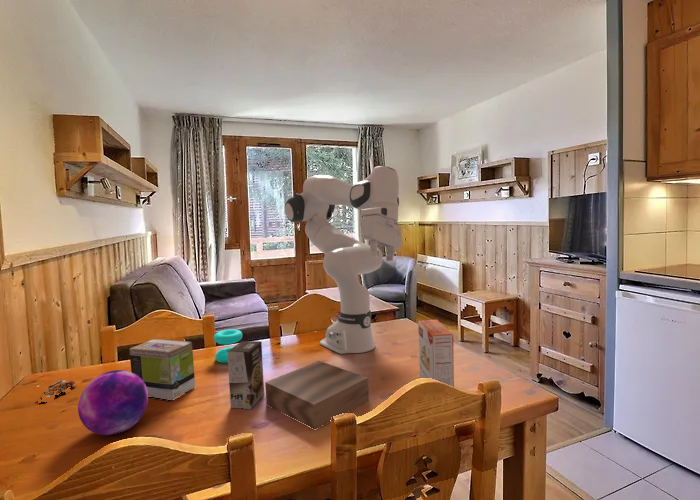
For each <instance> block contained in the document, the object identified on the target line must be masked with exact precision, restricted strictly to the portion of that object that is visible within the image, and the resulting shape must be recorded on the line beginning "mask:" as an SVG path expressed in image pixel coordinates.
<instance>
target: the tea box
mask: <svg viewBox="0 0 700 500" xmlns="http://www.w3.org/2000/svg"><path fill="white" fill-rule="evenodd" d="M193 350H194V349H193V342H192V341H185V340H174V339H173V340H171V339H159V338H158V339H157V338H153V339H150V340H148V341H145V342H144V343H141V344H138V345H136V346H133V347H130V348H129V349H128V351H129V360H130V369H131V370H130V372H132V373H134V374H136V375H137V376H139V377H140V378H141V379H142V380H143V381H144V383H145V385H146V387H147V390H148V396H151V397H156V398H162V399H169V400H173V399H175V398H176V397H178V396H180V395H182V394H183V393H185V392H187V391H189V390H190V389H192V388H194V387H195V388H196V378H195V366H194V365H195V363H194V353H193V352H194V351H193ZM195 388H194V389H195ZM192 390H193V389H192ZM189 392H190V391H189ZM162 399H161V400H162Z"/></svg>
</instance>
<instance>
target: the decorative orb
mask: <svg viewBox="0 0 700 500" xmlns="http://www.w3.org/2000/svg"><path fill="white" fill-rule="evenodd" d="M148 403H149V398H148V390H147V387H146V385H145V383H144V381H143V380H142V379H141V378H140V377H139V376H137V375H136V374H134V373H132V372H131V371H129V370H122V369H117V370H116V369H115V370H111V371H107V372H104V373H101V374H100V375H98V376H96V377H95V378H94V379H92V380H91V381H89V382H88V384H87V385H86V386H85V388H84V389H83V391H82V392H81V394H80V396H79V400H78V404H77V413H78V417H79V420H80V422H81V423H82V425H83V426H84V427H85V428H86V429H87V430H89V431H90V432H91V433H94V434H97V435H100V436H113V434H114V435H117V433H118V434H121V433H123V432H126V431H127V430H129V429H131V428H132V427H133V426H134V425H136V424H137V423H138V422H139V421H140V419H142V417H143V415H144V413H145V412H146V411H147V407H148ZM120 432H121V433H120Z"/></svg>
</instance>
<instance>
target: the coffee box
mask: <svg viewBox="0 0 700 500" xmlns="http://www.w3.org/2000/svg"><path fill="white" fill-rule="evenodd" d="M262 343H263V342H262V341H255V340H254V341H253V340H252V341H251V340H250V341H244V340H242V341H239V342H238V344H236V345H235V346H232V347H233V348H232V349H230V350H229V351H228V363H227V367H228V383H229V384H228V385H229V387H228V388H229V400H230V401H229V402H230V408H231V407H232V409H241V408H243V409H244V410H252V409H253V408H254V407H255V405H257V403H259V401H260V400H261V399H262V398H261V397H262V396H263V397H264V396H265V384H264V383H265V381H264V366H263V365H264V364H263V350H262V349H263V347H262ZM252 407H253V408H252Z"/></svg>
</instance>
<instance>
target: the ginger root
mask: <svg viewBox="0 0 700 500" xmlns="http://www.w3.org/2000/svg"><path fill="white" fill-rule="evenodd" d="M75 383H76V382H75V381H72V380H70V381H68V382H67V381H66V380H64V379H63V380H58V381H56V382H54V383H53V384H50V385H49V386H48V388H47V389H46V390H45V391H43V392H42V394H43V393H44V394H45V393H46V394H45V395H48V396H46V397H50V396H51V395H52V396H53V394H54V391H57V390H58V391H57V392H56V394H58V393H60V392H62V391H63V390H65V389H67V388H68V387H71V386H72V387H73V385H74V384H75ZM58 384H59V385H58ZM59 388H60V389H59Z"/></svg>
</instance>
